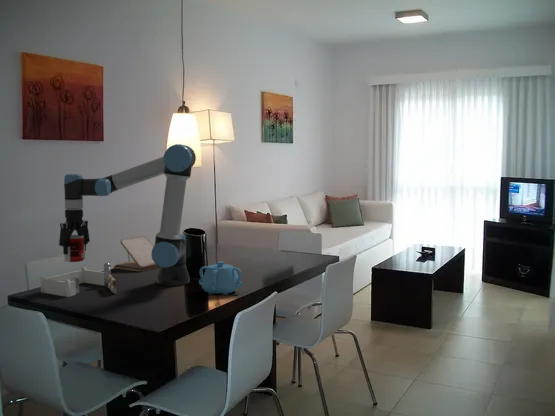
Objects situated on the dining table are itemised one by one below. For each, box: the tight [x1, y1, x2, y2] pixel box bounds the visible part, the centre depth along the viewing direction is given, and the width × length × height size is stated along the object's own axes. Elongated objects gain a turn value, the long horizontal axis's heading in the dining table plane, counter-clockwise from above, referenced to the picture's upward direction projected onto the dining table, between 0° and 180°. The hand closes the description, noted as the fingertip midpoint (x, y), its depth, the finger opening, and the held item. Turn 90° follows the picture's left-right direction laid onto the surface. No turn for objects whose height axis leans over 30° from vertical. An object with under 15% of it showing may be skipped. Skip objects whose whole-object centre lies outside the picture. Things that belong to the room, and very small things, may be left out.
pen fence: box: [40, 266, 105, 298], centre depth 247 cm, size 17×25×7 cm
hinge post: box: [103, 262, 112, 287], centre depth 253 cm, size 3×3×11 cm
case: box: [113, 235, 160, 273], centre depth 297 cm, size 20×21×16 cm
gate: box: [106, 274, 118, 295], centre depth 244 cm, size 15×1×6 cm, turn 27°
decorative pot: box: [198, 260, 243, 296], centre depth 242 cm, size 16×16×14 cm
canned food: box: [68, 234, 85, 263], centre depth 246 cm, size 8×8×11 cm
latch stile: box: [71, 277, 80, 294], centre depth 240 cm, size 2×2×6 cm
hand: (75, 259), depth 246 cm, fingers closed on canned food, 8 cm apart
